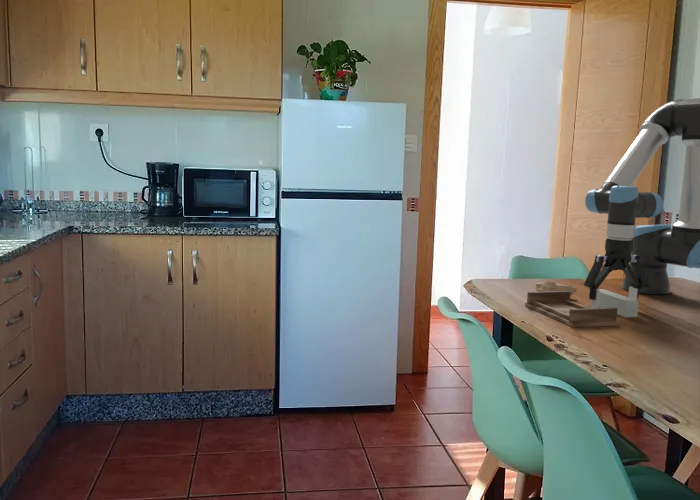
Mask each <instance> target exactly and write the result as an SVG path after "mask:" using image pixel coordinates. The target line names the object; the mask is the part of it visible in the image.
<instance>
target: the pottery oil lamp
mask: <svg viewBox="0 0 700 500" xmlns="http://www.w3.org/2000/svg"><path fill="white" fill-rule="evenodd" d="M534 289H535V291H536V292H544V291H571V295H570V296H572V295H575V294H576V293H577V291H578V290H577V287H574V286H572V285H568V284H564V283H559V282H555V281H547V280H543V281H541V282H537V283H535V286H534Z"/></svg>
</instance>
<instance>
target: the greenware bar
mask: <svg viewBox="0 0 700 500" xmlns="http://www.w3.org/2000/svg"><path fill="white" fill-rule="evenodd" d="M598 289H599V290H600V295H599V306H598V308H608V307H615V308H618V309H617V316H620V317H623V318H638V313H639V300H635V299H632V298H629V297H628V296H624V295H623V294H619V293H617V292H613V291H609V290H607V289H604V288H598ZM590 304H591V301H590ZM590 304H589V305H590Z"/></svg>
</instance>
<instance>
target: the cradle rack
mask: <svg viewBox="0 0 700 500" xmlns="http://www.w3.org/2000/svg"><path fill="white" fill-rule="evenodd" d="M526 296H527V297H526V302H525V305H524V306H525V307H527V308H528V309H532V310H533V311H535V312H538V313H540V314H542V315H545V316H546V317H549V318H550V319H553V320H556V321H557V322H561V323H562V324H565V325H567V326H569V327H571V328H585V327H587V328H588V327H606V326H607V327H609V326H619V321H618V320H617V319H618V315H617V309H618V308H615V307H608V308H590V307H587V306H584V305H583V304H580V303H576V302H575V301H572V300H571V296H572V295H571V291H544V292H538V291H528V292H527V295H526Z"/></svg>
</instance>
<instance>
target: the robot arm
mask: <svg viewBox="0 0 700 500" xmlns="http://www.w3.org/2000/svg"><path fill="white" fill-rule="evenodd" d="M638 132H639V134H638V135H637V137H636V138H635V139H634V140H633V142H632V143H631V145H630V146H629V148H628V149H627V150H626V152H625V154H624V155H623V156H622V157H621V158H620V160H619V162H617V164H616V166H615V167H614V169H613V170H612V171H611V173H610V174H609V176H608V177H607V179H606V180H605V182H603V184H602V186H601V187H600V188H596V189H591V190H589V191H587V194H586V196H585V199H584V204H585V208H586V209H587V211H589V212H590V213H597V214H605V215H607V223H606V235H605V236H606V237H607V238H605V242H604V243H605V244H604V250H605V255H600V254H595V257H594V262H593V264H592V267H590V270H589V273H588V275H587V277H586V279H585V281H584V283H583V286H584V287H587V288H589V295H588V298H589V300H590V302H591V304H589V306H590V307H589V308H598V306H599V295H600V290H599V289H600V288H599V287H600V286H601V285H602V283H603V282H604V281H605V280H606V278H607V277H608V276H609V274H611V273H612V272H613V271H618V270H619V271H622V272H623V274H624V275H625V277H624V279H623V280H622V284H621V288H622V289H623V290H626V291H628V296H627V297H629V298H632V299H635V300H637V299H638V298H639V296H640V295H639V294H645V295H669V294H670V292H671V285H670V281H669V280H670V279H669V275H668V272H667V268H668V265H673V266H681V267H687V268H689V269H700V97H699V98H697V97H696V98H687V99H685V98H684V99H682V98H681V99H675V100H674V99H673V100H672V101H668V102H666V103H665V104H662V106H660V107H658V108H657V109H656V110H655V111H653V112H652V113H651V114H650V115H649V116H648V117H647V118H645V120H644V121H643V123H642V124H641V125H640V127H639V129H638ZM675 136H676V137H677V136H679V137H681V142H682V143H683V144H684V146H685V154H684V163H683V164H684V165H683V171H682V181H681V182H682V183H681V191H680V201H679V208H678V209H679V210H678V217H677V221H675V222H674V223H673V224H672V225H671V224H645V225H644V224H640V225H636V219H637V218H640V219H641V218H646V219H650V218H653V217H656V216H659V214H661V212H662V210H663V207H664V201H663V199H662V197H661V196H660V195H659V194H658V193H656V192H651V191H646V192H643V191H642V192H641V191H639V188H638V186H636V185H635V186H633V185H634V183H635V182H636V181H637V179H638V177H640V175H641V174H642V173H643V171H644V169H645V168H646V166H647V165H648V163H649V162H650V160H651V159H652V158H653V156H655V154H656V152H657V151H658V149H660V146H661V145H662V146H663V145H664V144H666V143H667V142H668V141H669V139H671V138H672V137H675Z"/></svg>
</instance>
